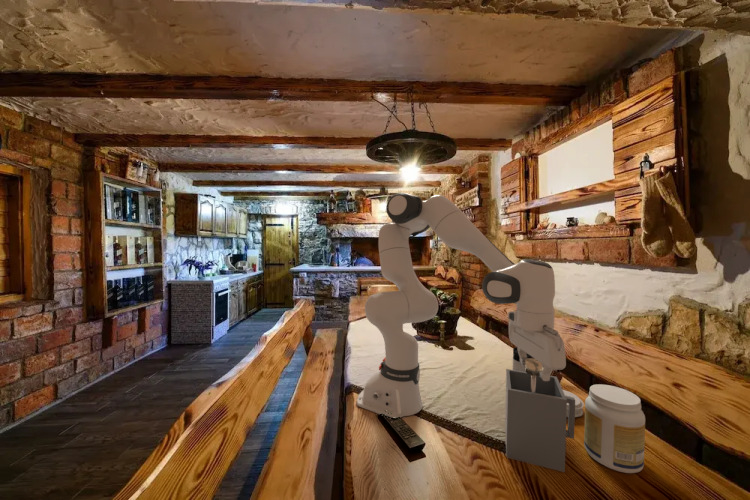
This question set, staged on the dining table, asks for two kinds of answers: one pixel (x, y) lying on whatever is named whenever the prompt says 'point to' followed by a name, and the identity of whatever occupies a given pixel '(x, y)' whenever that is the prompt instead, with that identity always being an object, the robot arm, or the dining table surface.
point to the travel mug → (518, 361)
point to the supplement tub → (615, 428)
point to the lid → (578, 404)
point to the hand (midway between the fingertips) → (533, 371)
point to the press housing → (537, 420)
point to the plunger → (533, 371)
